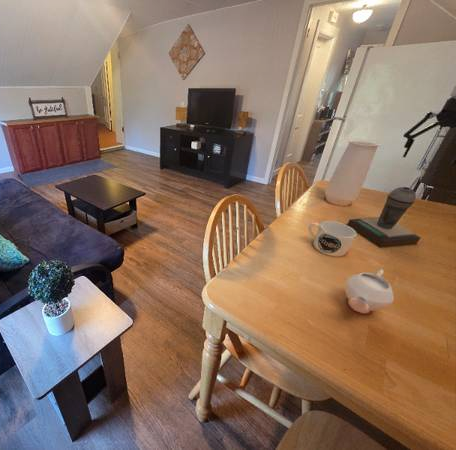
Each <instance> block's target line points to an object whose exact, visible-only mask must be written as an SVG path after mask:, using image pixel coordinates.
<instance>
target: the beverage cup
mask: <svg viewBox="0 0 456 450" xmlns="http://www.w3.org/2000/svg"><path fill="white" fill-rule="evenodd" d="M420 178H421V176H420V175H419V176H417V177H416V179H414V181H413V182H412V183H411V185H409V187H408V186H407V187H406V186H400V187H397V188H394V189H393V190H391V191H390V192H389V193H388V194H387V197H386V201H385V203H384V206H383V208H382V211H381V214H379V216H378V217H379V220H378V223H377V225H378V226H379V227H381V228H384V229H392V228H393V227H394V225H395V224H396V223H397V224H398V222H399V221H400V219H401V218H402V217H403V215H404V214H405V213H406V212H407V211H408V209H409V208H410V207H411V206H413V204H414V203H415V201H416V199H417V195H416V192H415V191H414V189H413V187H414V186H415V184H416V183H417V182H418V181H419V180H420Z"/></svg>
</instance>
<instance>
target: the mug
mask: <svg viewBox="0 0 456 450" xmlns="http://www.w3.org/2000/svg"><path fill="white" fill-rule="evenodd" d="M313 226H316V227H317V228H318V229H317V231H316V234H314V232H313V230H312V227H313ZM308 232H309V234H310V235H311V237H312V238H313V239H314V240H313V243H312V244H313V247H314V248H315V249H316V250H317V251H319V252H320V253H322V254H324V255H327V256H331V257H342V256H344V255H346V253H347V252H348V250H349V249H350V247H351V245H352V244H353V242H354V240H355V239H356V237H357V234H358V233H357V232H356V231H355V230H354V229H352V228H351V227H349V226H347V224H344V223H341V222H338V221H333V220H325V221H322V222H320V223H318V222H311V223H310V224H309V225H308Z"/></svg>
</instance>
